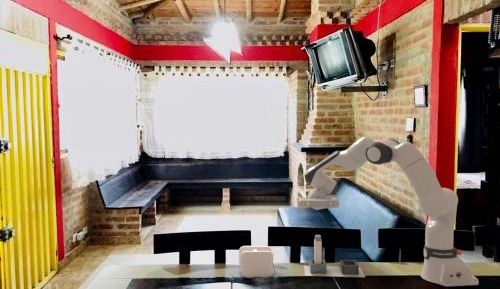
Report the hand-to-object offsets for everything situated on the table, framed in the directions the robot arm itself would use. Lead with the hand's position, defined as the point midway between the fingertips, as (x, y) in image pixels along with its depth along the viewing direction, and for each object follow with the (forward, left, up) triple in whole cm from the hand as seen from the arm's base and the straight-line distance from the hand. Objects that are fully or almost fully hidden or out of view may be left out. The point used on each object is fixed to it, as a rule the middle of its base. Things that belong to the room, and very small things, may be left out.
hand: (319, 205), depth 199 cm
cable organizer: (+30, +17, -28) cm, 45 cm away
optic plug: (+2, +14, -27) cm, 31 cm away
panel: (-5, +14, -28) cm, 32 cm away
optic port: (+2, +14, -27) cm, 30 cm away
